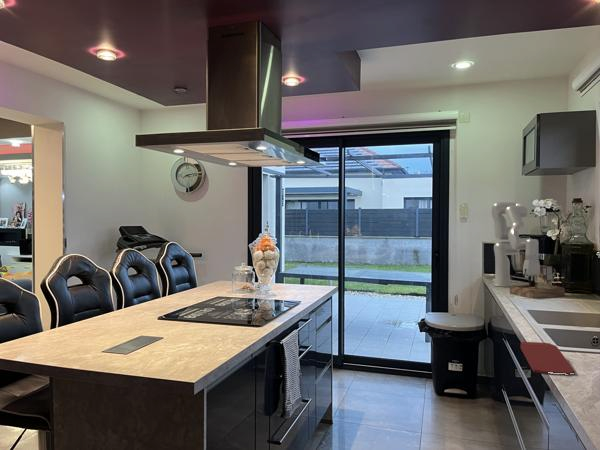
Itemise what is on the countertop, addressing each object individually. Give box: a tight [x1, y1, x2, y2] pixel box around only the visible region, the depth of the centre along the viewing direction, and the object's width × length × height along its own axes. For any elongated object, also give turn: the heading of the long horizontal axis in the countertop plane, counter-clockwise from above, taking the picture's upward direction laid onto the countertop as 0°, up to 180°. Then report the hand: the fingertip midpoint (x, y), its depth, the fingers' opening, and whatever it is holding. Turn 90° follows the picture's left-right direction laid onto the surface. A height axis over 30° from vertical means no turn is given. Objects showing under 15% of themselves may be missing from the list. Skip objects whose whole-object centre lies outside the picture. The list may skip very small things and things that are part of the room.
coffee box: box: [535, 264, 554, 286], centre depth 310 cm, size 9×6×16 cm
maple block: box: [532, 281, 544, 289], centre depth 296 cm, size 5×5×4 cm
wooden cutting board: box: [509, 284, 566, 299], centre depth 291 cm, size 18×26×5 cm
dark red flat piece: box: [520, 341, 576, 375], centre depth 161 cm, size 12×5×25 cm
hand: (531, 286), depth 295 cm, fingers closed
